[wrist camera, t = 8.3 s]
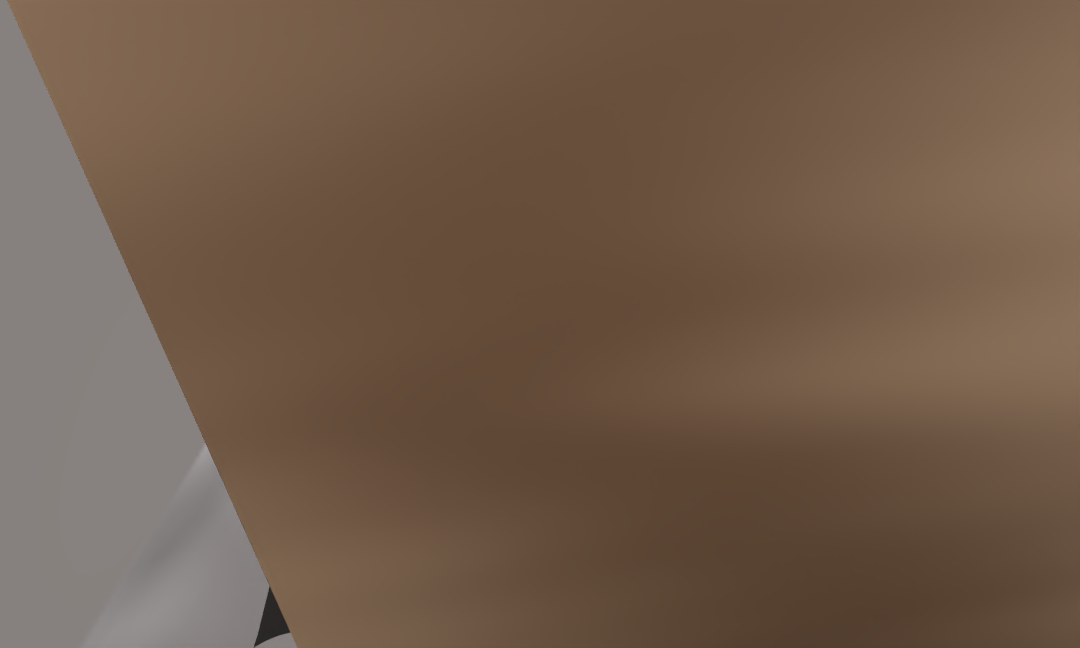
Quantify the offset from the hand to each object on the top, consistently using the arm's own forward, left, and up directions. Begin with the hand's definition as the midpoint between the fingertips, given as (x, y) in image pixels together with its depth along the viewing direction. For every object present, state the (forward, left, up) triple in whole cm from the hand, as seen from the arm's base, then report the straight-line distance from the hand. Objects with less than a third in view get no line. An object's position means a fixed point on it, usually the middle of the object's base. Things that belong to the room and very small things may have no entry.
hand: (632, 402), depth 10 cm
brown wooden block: (0, +3, -8) cm, 8 cm away
